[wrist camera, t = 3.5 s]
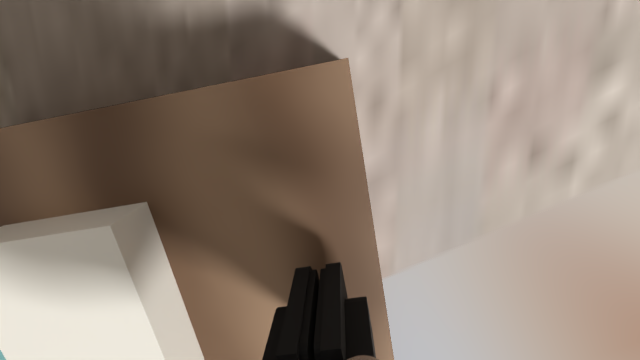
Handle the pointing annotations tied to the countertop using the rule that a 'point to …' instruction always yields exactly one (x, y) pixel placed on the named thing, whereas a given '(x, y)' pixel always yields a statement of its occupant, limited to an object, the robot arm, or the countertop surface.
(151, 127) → the brown wooden slab
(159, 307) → the cream bevelled block
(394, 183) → the countertop surface
